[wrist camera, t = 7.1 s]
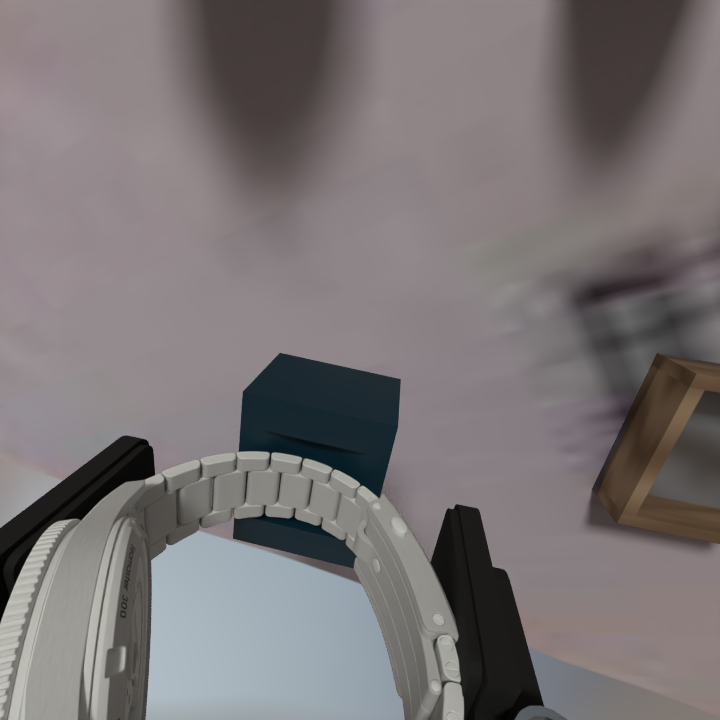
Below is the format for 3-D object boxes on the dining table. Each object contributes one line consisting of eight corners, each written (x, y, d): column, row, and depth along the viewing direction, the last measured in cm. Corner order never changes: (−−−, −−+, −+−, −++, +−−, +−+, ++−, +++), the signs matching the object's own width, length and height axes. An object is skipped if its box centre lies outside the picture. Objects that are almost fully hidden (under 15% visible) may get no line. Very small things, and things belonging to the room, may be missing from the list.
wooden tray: (657, 353, 28) (696, 373, 24) (809, 379, 27) (873, 404, 24) (592, 488, 33) (616, 523, 29) (720, 513, 32) (762, 552, 28)
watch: (226, 341, 13) (-425, 780, 3) (451, 390, 13) (623, 1104, 2) (220, 467, 15) (-166, 980, 5) (412, 513, 15) (420, 1172, 5)
